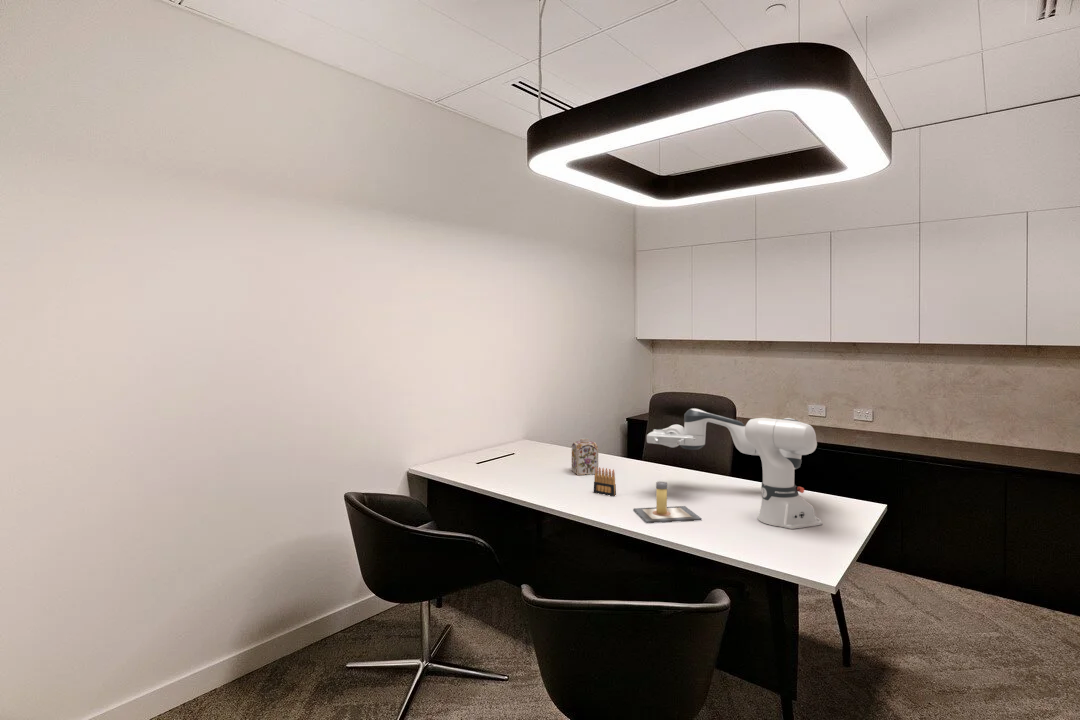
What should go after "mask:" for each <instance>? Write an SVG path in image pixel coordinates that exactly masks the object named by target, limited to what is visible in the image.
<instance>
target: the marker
mask: <svg viewBox="0 0 1080 720" xmlns="http://www.w3.org/2000/svg"><path fill="white" fill-rule="evenodd" d="M655 483H656V484H655V487H656V489H655V490H656V491H655V492H656V494H655V495H656V498H655V499H656V500H655V501H656V504H655V505H656V513H657V514H662V515H664V514H667V507H668V504H667V503H668V482H667V481H657V482H655Z"/></svg>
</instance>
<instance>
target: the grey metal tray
mask: <svg viewBox="0 0 1080 720" xmlns="http://www.w3.org/2000/svg"><path fill="white" fill-rule="evenodd" d="M632 509H633V512H634V513H635V514H636V515H637V516H638V517H639V518H640V519H642V521H643V522H644V523H645V524H655V523H654V522H662V523H673V522H672V521H681V522H695V521H694V520H701V521H702V518H701V517H700V516H699V515H697V513H695V512H694V511H692V510H691V509H690V508H688V507H687V506H686V505H679V506H677V505H675V506H667V514H664V515H662V514H657V513H656V507H655V506H654V507H637V508H635V507H634V508H632Z"/></svg>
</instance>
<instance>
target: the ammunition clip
mask: <svg viewBox="0 0 1080 720" xmlns="http://www.w3.org/2000/svg"><path fill="white" fill-rule="evenodd" d="M616 485H617V484H616V474H615V469H614V468H613V469H612V471H611V468H608V467H605V468H604V467H602V468H601V466H598V470H597V467H596V468H595V475H594V481H593V494H598V493H599V495H603V494H605V495H604V496H608V495H610V496H609V497H616V496H617V486H616ZM615 495H616V496H615Z"/></svg>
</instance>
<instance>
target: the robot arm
mask: <svg viewBox="0 0 1080 720" xmlns="http://www.w3.org/2000/svg"><path fill="white" fill-rule="evenodd" d="M683 417H684V419H683V421H684V426H683V425H680V424H677V423H676V424H672V425H670V426H668V427H665V428H656V429H655V428H654V429H652V431H650V432H649V433H648V434H646V443H647V444H653V445H661V446H665V447H669V448H677V447H679V446H680V447H681V448H682V449H684V450H690V451H695V450H700V449H702V448H703V447H704V446H705V445H706V438H707V437H706V436H707V434H706V433H707V432H706V431H707V423H712V424H714V425H715V424H716V425H719V426H722V427H725V428H727V429H728V431H729V432H730V436H731V438H732V441H733V444H734V446H735V448H736V449H737V450H738V451H739V452H740V453H742V454H745V455H751V456H759V457H760V460H761V467H762V482H761V491H760V492H761V502H760V503H761V505H760V509H759V513H758V517H757V519H758V521H759V522H761V523H764V524H766V525H770V526H775V527H781V528H785V529H789V530H795V529H801V528H802V529H803V528H808V527H815V526H822V525H823V522H822V519H820V518H819V517H817V516H816V513H815V508H814V506H813V505H812V504H811V503H809V502H808V501H807V500H806V499H804V498H803V496H801V495H800V494H799V493H801V494H803V493H805V488H804V487H802V486H797V485H796V484H795V470H797V469H799V468H801V466H802V465H801V464H802V461H803V460H802V456H807V455H809V454H812V453H814V452H815V451H816V449H817V446H818V442H817V435H816V431H815V428H814V427H813V426H812V425H810V424H808V423H806V422H801V421H799V420H797V419H794V418H790V417H785V418H782V419H780V418H779V419H778V418H769V417H758V418H755V417H754V418H750V419H749V420H748V421H747V422H746V424H744V423H743V422H742V421H740V420H738V419H734V418H732V417H731V418H730V417H726V416H723V415H719V414H715V413H711V412H707V411H705V410H702V409H699V408H689V409H688V410H686V412H685V413H684V414H683Z"/></svg>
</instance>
